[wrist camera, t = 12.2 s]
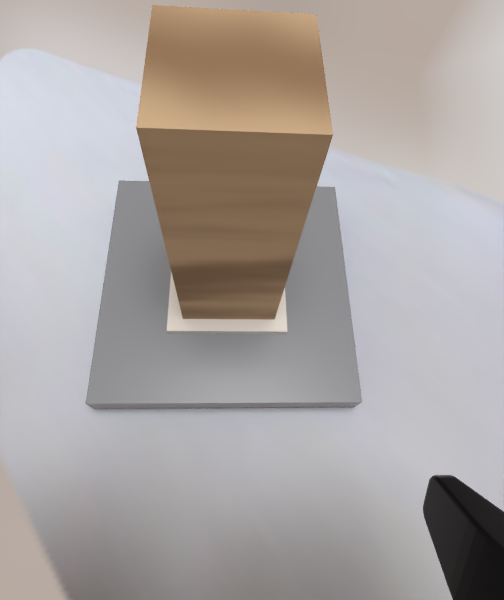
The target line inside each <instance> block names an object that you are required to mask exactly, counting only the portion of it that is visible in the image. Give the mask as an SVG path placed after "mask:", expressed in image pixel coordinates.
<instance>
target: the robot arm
mask: <svg viewBox="0 0 504 600" xmlns="http://www.w3.org/2000/svg"><path fill="white" fill-rule="evenodd" d="M423 513H424V518H425V521H426V524H427V527H428V530H429V533H430V535H431V538H432V541H433V544H434V547H435V550H436V553H437V556H438V559H439V561H440V564H441V567H442V570H443V573H444V576H445V579H446V582H447V585H448V587H449V590H450V593H451V595H452V598H453V600H504V512H503V511H502V510H501V509H499V508H498V507H496V506H495V505H494V504H492V503H491V502H489V501H488V500H487V499H485V498H484V497H482V496H481V495H480V494H478V493H477V492H475V491H474V490H473V489H471V488H470V487H468V486H467V485H466V484H464V483H463V482H461V481H460V480H459V479H457V478H456V477H454V476H451V475H435V476H432V477H431V478H430V480H429V484H428V488H427V492H426V496H425V500H424V505H423Z"/></svg>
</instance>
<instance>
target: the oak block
mask: <svg viewBox="0 0 504 600" xmlns="http://www.w3.org/2000/svg"><path fill="white" fill-rule="evenodd" d="M136 128H137V132H138V136H139V141H140V145H141V149H142V153H143V157H144V161H145V165H146V169H147V173H148V178H149V182H150V186H151V190H152V194H153V198H154V202H155V206H156V210H157V215H158V219H159V223H160V227H161V231H162V235H163V239H164V243H165V247H166V252H167V256H168V260H169V264H170V268H171V272H172V276H173V280H174V284H175V289H176V293H177V297H178V301H179V305H180V309H181V313H182V317H183V319H275V317H276V313H277V310H278V307H279V304H280V301H281V298H282V294H283V291H284V288H285V285H286V282H287V279H288V275H289V272H290V269H291V266H292V263H293V260H294V256H295V253H296V250H297V247H298V244H299V241H300V237H301V234H302V231H303V228H304V225H305V222H306V218H307V215H308V212H309V209H310V206H311V203H312V199H313V196H314V193H315V190H316V187H317V183H318V180H319V177H320V174H321V171H322V168H323V164H324V161H325V158H326V155H327V152H328V149H329V145H330V142H331V139H332V136H333V132H332V125H331V118H330V110H329V103H328V96H327V89H326V82H325V74H324V66H323V59H322V53H321V45H320V38H319V30H318V23H317V15H314V14H298V13H278V12H261V11H245V10H227V9H209V8H192V7H175V6H157V5H153V6H152V14H151V20H150V28H149V36H148V43H147V51H146V58H145V66H144V74H143V82H142V88H141V96H140V104H139V111H138V119H137V126H136Z"/></svg>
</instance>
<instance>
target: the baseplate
mask: <svg viewBox="0 0 504 600" xmlns="http://www.w3.org/2000/svg"><path fill="white" fill-rule="evenodd" d="M361 402H362V398H361V390H360V382H359V374H358V366H357V358H356V350H355V342H354V334H353V327H352V319H351V311H350V303H349V295H348V287H347V279H346V271H345V263H344V255H343V248H342V240H341V232H340V224H339V216H338V208H337V200H336V192H335V187H316V190H315V193H314V196H313V199H312V203H311V206H310V209H309V212H308V215H307V218H306V222H305V225H304V228H303V231H302V234H301V237H300V241H299V244H298V247H297V250H296V253H295V256H294V260H293V263H292V266H291V269H290V272H289V275H288V279H287V282H286V285H285V288H284V291H283V294H282V298H281V301H280V304H279V307H278V310H277V313H276V317H275V319H183V317H182V313H181V309H180V305H179V301H178V297H177V293H176V289H175V284H174V280H173V276H172V272H171V268H170V264H169V260H168V256H167V252H166V247H165V243H164V239H163V235H162V231H161V227H160V223H159V219H158V215H157V210H156V206H155V202H154V198H153V194H152V190H151V186H150V182H148V181H119V184H118V190H117V197H116V204H115V211H114V217H113V224H112V231H111V237H110V244H109V251H108V257H107V264H106V271H105V278H104V284H103V291H102V298H101V304H100V311H99V318H98V324H97V331H96V338H95V345H94V351H93V358H92V365H91V371H90V378H89V385H88V391H87V398H86V404H87V405H89V406H91V407H92V408H94V409H124V408H284V407H355V406H356V405H358V404H360V403H361Z"/></svg>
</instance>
